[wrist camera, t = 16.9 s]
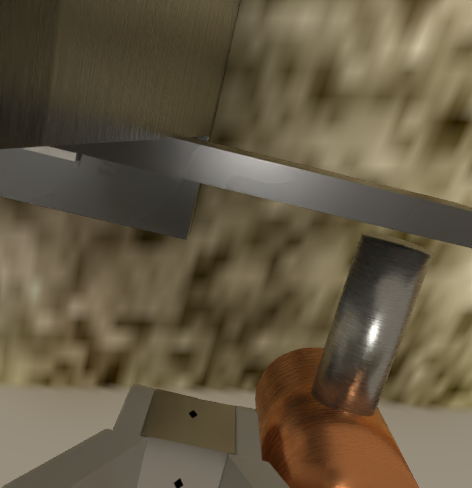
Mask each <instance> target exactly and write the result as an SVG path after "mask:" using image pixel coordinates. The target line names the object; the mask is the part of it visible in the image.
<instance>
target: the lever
mask: <svg viewBox="0 0 472 488" xmlns="http://www.w3.org/2000/svg"><path fill="white" fill-rule="evenodd" d="M432 256H433V253H432V252H431V251H429V250H427V249H425V248H423V247H421V246H418V245H416V244H413V243H410V242H407V241H404V240H401V239H398V238H394V237H391V236H387V235H383V234H378V233H373V232H361V235H360V239H359V242H358V245H357V248H356V251H355V254H354V257H353V260H352V263H351V267H350V270H349V273H348V276H347V279H346V282H345V285H344V288H343V292H342V295H341V298H340V301H339V304H338V307H337V310H336V313H335V316H334V320H333V323H332V326H331V329H330V332H329V335H328V338H327V341H326V344H325V348H324V349H322V348H303V349H298V350H295V351H292V352H289V353H287V354H285V355H283V356H281V357H279V358H278V359H276V360H275V361H274V362H273V363H271V364H270V365H269V366H268V368H267V369H266V370H265V371H264V373H263V374H262V376H261V378H260V380H259V382H258V385H257V389H256V396H255V401H256V410H257V411H258V417H259V429H260V441H261V452H262V461H266V462H269V463H270V464H271V465H272V467H273V468H274V469H275V470H276V471H277V473H278V474H279V475H280V476H281V477H282V479H283V480H284V481H285V482H286V483H287V485H288V486H289V487H290V488H419V487H418V485H417V483H416V481H415V479H414V477H413V475H412V473H411V471H410V469H409V467H408V465H407V463H406V461H405V460H404V458H403V456H402V454H401V452H400V450H399V448H398V446H397V444H396V442H395V440H394V438H393V436H392V434H391V432H390V431H389V429H388V427H387V425H386V423H385V421H384V419H383V417H382V415H381V413H380V411H379V409H378V407H377V405H378V402H379V399H380V397H381V394H382V391H383V389H384V386H385V383H386V380H387V378H388V375H389V372H390V370H391V367H392V364H393V361H394V359H395V356H396V353H397V351H398V348H399V345H400V342H401V340H402V337H403V334H404V332H405V329H406V326H407V323H408V321H409V318H410V315H411V313H412V310H413V307H414V304H415V302H416V299H417V296H418V294H419V291H420V288H421V285H422V283H423V280H424V277H425V275H426V272H427V269H428V266H429V264H430V261H431V258H432Z"/></svg>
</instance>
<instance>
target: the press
mask: <svg viewBox="0 0 472 488" xmlns="http://www.w3.org/2000/svg"><path fill="white" fill-rule="evenodd" d="M240 1H241V0H0V197H4V198H9V199H13V200H17V201H21V202H26V203H30V204H34V205H39V206H43V207H47V208H52V209H56V210H60V211H65V212H69V213H73V214H77V215H82V216H86V217H90V218H95V219H99V220H103V221H108V222H112V223H116V224H121V225H125V226H129V227H133V228H138V229H142V230H146V231H151V232H155V233H159V234H164V235H168V236H172V237H177V238H181V239H185V240H187V238H188V236H189V234H190V230H191V225H192V221H193V216H194V211H195V207H196V202H197V198H198V193H199V189H200V184H201V183H202V184H207V185H211V186H215V187H219V188H223V189H227V190H232V191H236V192H240V193H244V194H248V195H252V196H256V197H261V198H265V199H269V200H273V201H277V202H281V203H286V204H290V205H294V206H298V207H302V208H306V209H311V210H315V211H319V212H323V213H327V214H331V215H336V216H340V217H344V218H348V219H352V220H356V221H361V222H365V223H369V224H373V225H377V226H381V227H386V228H390V229H394V230H398V231H402V232H406V233H411V234H415V235H419V236H423V237H427V238H431V239H435V240H440V241H444V242H448V243H452V244H456V245H460V246H465V247H469V248H472V208H471V207H468V206H464V205H461V204H458V203H455V202H451V201H447V200H443V199H439V198H435V197H431V196H427V195H423V194H418V193H414V192H410V191H406V190H402V189H398V188H394V187H390V186H386V185H382V184H378V183H374V182H370V181H366V180H362V179H357V178H353V177H349V176H345V175H341V174H337V173H333V172H329V171H325V170H321V169H317V168H313V167H309V166H305V165H301V164H297V163H292V162H288V161H284V160H280V159H276V158H272V157H268V156H264V155H260V154H256V153H252V152H248V151H244V150H240V149H236V148H232V147H227V146H223V145H219V144H215V143H211V142H210V138H211V134H212V129H213V125H214V120H215V115H216V111H217V106H218V102H219V97H220V93H221V88H222V83H223V79H224V74H225V70H226V65H227V61H228V56H229V52H230V47H231V42H232V38H233V33H234V29H235V24H236V20H237V15H238V10H239V6H240Z"/></svg>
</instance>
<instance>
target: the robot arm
mask: <svg viewBox="0 0 472 488" xmlns="http://www.w3.org/2000/svg"><path fill="white" fill-rule="evenodd" d="M2 488H290V487H289V486H288V485H287V483H286V482H285V481H284V480H283V479H282V477H281V476H280V475H279V474H278V473H277V471H276V470H275V469H274V468H273V467H272V465H271V464H270V463H269V462H266V461H262V452H261V441H260V429H259V417H258V411H257V410H256V409H252V408H246V407H239V406H233V405H227V404H221V403H217V402H211V401H206V400H201V399H198V398H194V397H190V396H186V395H182V394H177V393H173V392H169V391H164V390H160V389H154V388H152V387H147V386H142V385H137V384H133V385H132V386H131V388H130V390H129V392H128V395H127V397H126V400H125V403H124V405H123V407H122V409H121V412H120V414H119V416H118V419H117V421H116V423H115V426H114V428H113V430H110V429H105V430H103V431H101V432H99V433H98V434H96V435H94V436H92V437H90V438H89V439H87V440H85V441H84V442H82V443H80V444H78V445H76V446H74V447H72V448H71V449H69V450H67V451H65V452H63V453H62V454H60V455H58V456H56V457H54V458H53V459H51V460H49V461H47V462H45V463H44V464H42V465H40V466H39V467H37V468H35V469H33V470H31V471H29V472H28V473H26V474H24V475H22V476H20V477H19V478H17V479H15V480H13V481H11V482H10V483H8V484H6V485H5V486H3V487H2Z"/></svg>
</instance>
